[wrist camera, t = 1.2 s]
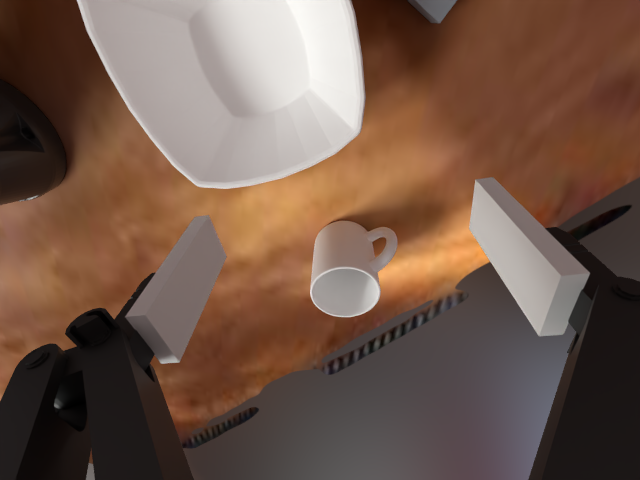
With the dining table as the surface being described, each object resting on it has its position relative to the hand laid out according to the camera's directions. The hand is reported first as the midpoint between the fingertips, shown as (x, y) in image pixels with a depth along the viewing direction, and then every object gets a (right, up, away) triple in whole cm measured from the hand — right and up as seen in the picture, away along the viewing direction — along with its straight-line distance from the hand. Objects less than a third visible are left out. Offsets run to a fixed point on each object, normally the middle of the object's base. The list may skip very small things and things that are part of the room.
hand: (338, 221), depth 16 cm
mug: (+4, 0, +29) cm, 29 cm away
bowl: (-8, +18, +16) cm, 26 cm away
